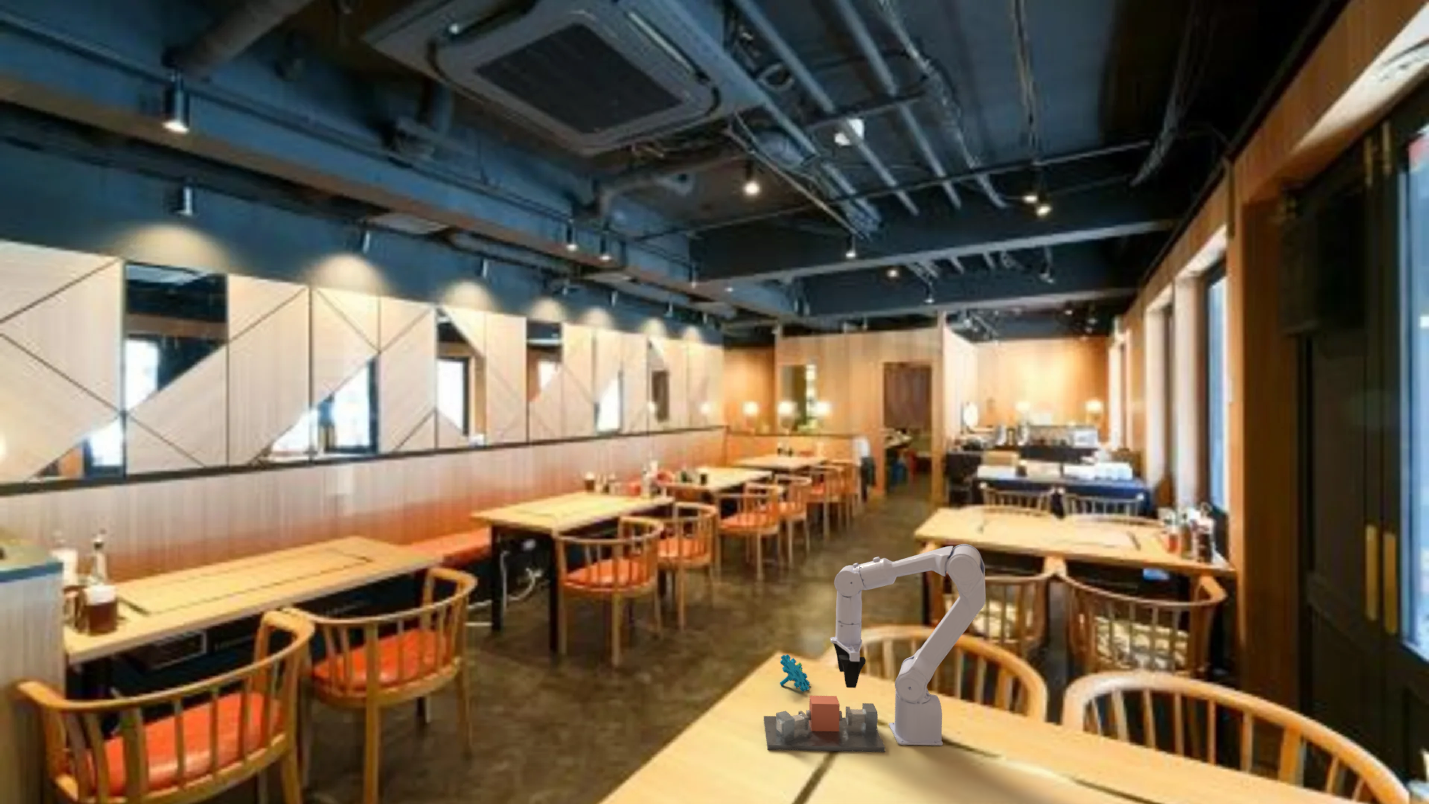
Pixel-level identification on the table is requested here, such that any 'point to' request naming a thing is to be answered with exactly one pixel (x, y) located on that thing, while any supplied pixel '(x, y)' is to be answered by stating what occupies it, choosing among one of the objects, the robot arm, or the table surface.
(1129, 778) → the table surface
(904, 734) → the robot arm
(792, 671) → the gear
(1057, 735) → the table surface
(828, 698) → the block
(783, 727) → the stand
